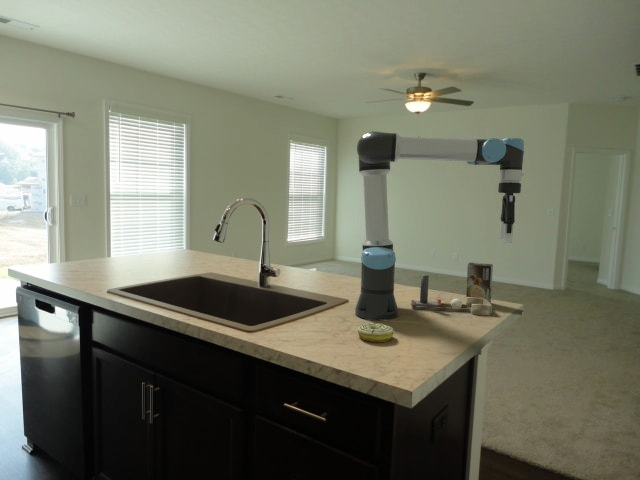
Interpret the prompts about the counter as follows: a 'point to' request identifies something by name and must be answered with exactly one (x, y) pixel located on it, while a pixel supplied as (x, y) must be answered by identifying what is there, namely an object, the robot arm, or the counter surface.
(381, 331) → the decorated donut
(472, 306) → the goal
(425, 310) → the pitch mat
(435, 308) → the rail
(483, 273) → the coffee box
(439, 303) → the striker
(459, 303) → the ball
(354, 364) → the counter surface
